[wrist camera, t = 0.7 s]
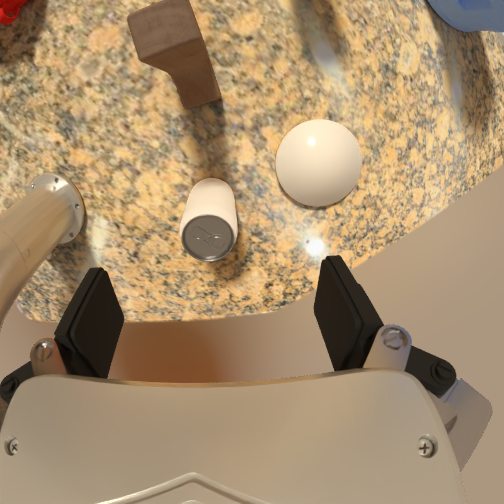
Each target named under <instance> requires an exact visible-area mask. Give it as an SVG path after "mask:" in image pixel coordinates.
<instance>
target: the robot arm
mask: <svg viewBox="0 0 504 504" xmlns="http://www.w3.org/2000/svg"><path fill="white" fill-rule="evenodd" d="M83 222H84V205H83V201H82V198H81V196H80V194H79V191H78V190H77V188H76V187H75V185H74V184H73V183H72V182H71V181H70V180H69V179H68V178H66V177H65V176H63V175H61V174H59V173H55V172H46V173H43V174H41V175H39V176H38V177H36V178H35V179H34V180H33V181H32V182H31V183H30V185H29V187H28V189H27V193H26V196H24V197H23V198H22V199H20V200H19V201H18V202H16V203H15V204H14V205H12V206H11V207H10V208H8V209H7V210H6V211H5V212H3V213H2V214H1V215H0V331H1V328H2V325H3V323H4V320H5V318H6V316H7V314H8V312H9V310H10V308H11V306H12V305H13V303H14V301H15V300H16V298H17V297H18V295H19V294H20V292H21V291H22V289H23V288H24V287H25V285H26V284H27V282H28V281H29V280H30V278H31V277H32V276H33V274H34V273H35V272H36V270H37V269H38V268H39V266H40V265H41V264H42V263H43V261H44V260H45V259H48V260H49V259H51V258H52V250H53V249H54V248H55V247H56V246H57V245H58V244H64V243H67V242H70V241H71V240H73V239H74V238H75V237H76V236H77V235H78V233H79V232H80V231H81V228H82V226H83ZM314 314H315V316H316V319H317V322H318V325H319V327H320V330H321V333H322V336H323V339H324V342H325V344H326V348H327V350H328V353H329V356H330V359H331V362H332V365H333V368H334V371H335V372H328V373H322V374H314V375H307V376H298V377H290V378H282V379H271V380H260V381H246V382H227V383H155V382H138V381H124V380H113V379H107V377H108V373H109V369H110V366H111V362H112V359H113V355H114V352H115V348H116V345H117V342H118V338H119V335H120V332H121V329H122V326H123V323H124V315H123V312H122V310H121V307H120V305H119V302H118V300H117V297H116V295H115V292H114V289H113V287H112V284H111V281H110V278H109V276H108V273H107V271H104V269H103V268H101V267H100V268H90V269H89V270H88V272H87V274H86V275H85V277H84V279H83V280H82V282H81V284H80V286H79V287H78V289H77V291H76V293H75V294H74V296H73V298H72V300H71V302H70V303H69V305H68V307H67V309H66V311H65V313H64V315H63V317H62V319H61V321H60V323H59V325H58V327H57V329H56V331H55V333H54V334H55V338H54V340H53V339H52V338H43V339H41V340H39V341H38V342H36V343H35V344H34V346H33V347H32V349H31V352H30V359H31V361H29V362H28V363H26V364H25V365H23V366H21V367H20V368H18V369H17V370H15V371H14V372H12V373H11V374H9V375H8V376H6V377H5V378H4V379H3V381H2V382H1V384H0V504H467V500H466V495H465V490H464V485H463V481H462V477H461V473H460V472H461V470H462V469H463V467H464V466H465V464H466V463H467V461H468V459H469V458H470V456H471V454H472V453H473V451H474V449H475V447H476V446H477V444H478V442H479V440H480V438H481V437H482V434H483V433H484V431H485V429H486V427H487V425H488V422H489V420H490V418H491V416H492V406H491V403H490V402H489V401H488V400H487V399H486V398H485V397H484V396H482V395H481V394H480V393H479V392H477V391H476V390H475V389H474V388H473V387H471V386H470V385H469V384H468V383H466V382H465V381H464V380H463V379H462V378H461V379H460V380H458V379H457V378H456V372H455V369H454V368H453V366H452V365H451V364H450V363H449V362H447V361H446V360H443V359H441V358H439V357H436V356H434V355H432V354H430V353H427V352H425V351H423V350H421V349H418V348H416V347H414V346H412V345H411V342H412V341H411V337H410V335H409V333H408V332H407V331H406V330H405V329H404V328H402V327H400V326H397V325H385V326H384V324H383V322H382V321H381V319H380V317H379V315H378V313H377V312H376V310H375V308H374V307H373V305H372V303H371V301H370V300H369V298H368V296H367V295H366V293H365V291H364V290H363V288H362V287H361V285H360V284H358V283H357V282H356V280H355V279H354V277H353V275H352V274H351V272H350V270H349V269H348V267H347V265H346V264H345V262H344V261H343V259H342V257H341V256H340V255H336V256H327V257H326V259H325V260H322V263H321V269H320V275H319V281H318V286H317V292H316V297H315V303H314Z"/></svg>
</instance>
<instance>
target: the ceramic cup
mask: <svg viewBox="0 0 504 504" xmlns="http://www.w3.org/2000/svg"><path fill="white" fill-rule="evenodd" d="M27 1H28V0H0V23H1V24H4V25H7V24H10V23H12V22H13V21H14V20H15V19H16V18H17V16H18V14H19V8H21V7H22V6H23V5H24V4H25V3H26V2H27ZM12 13H13V16H12V17H7V16H8V15H10V14H12Z"/></svg>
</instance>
